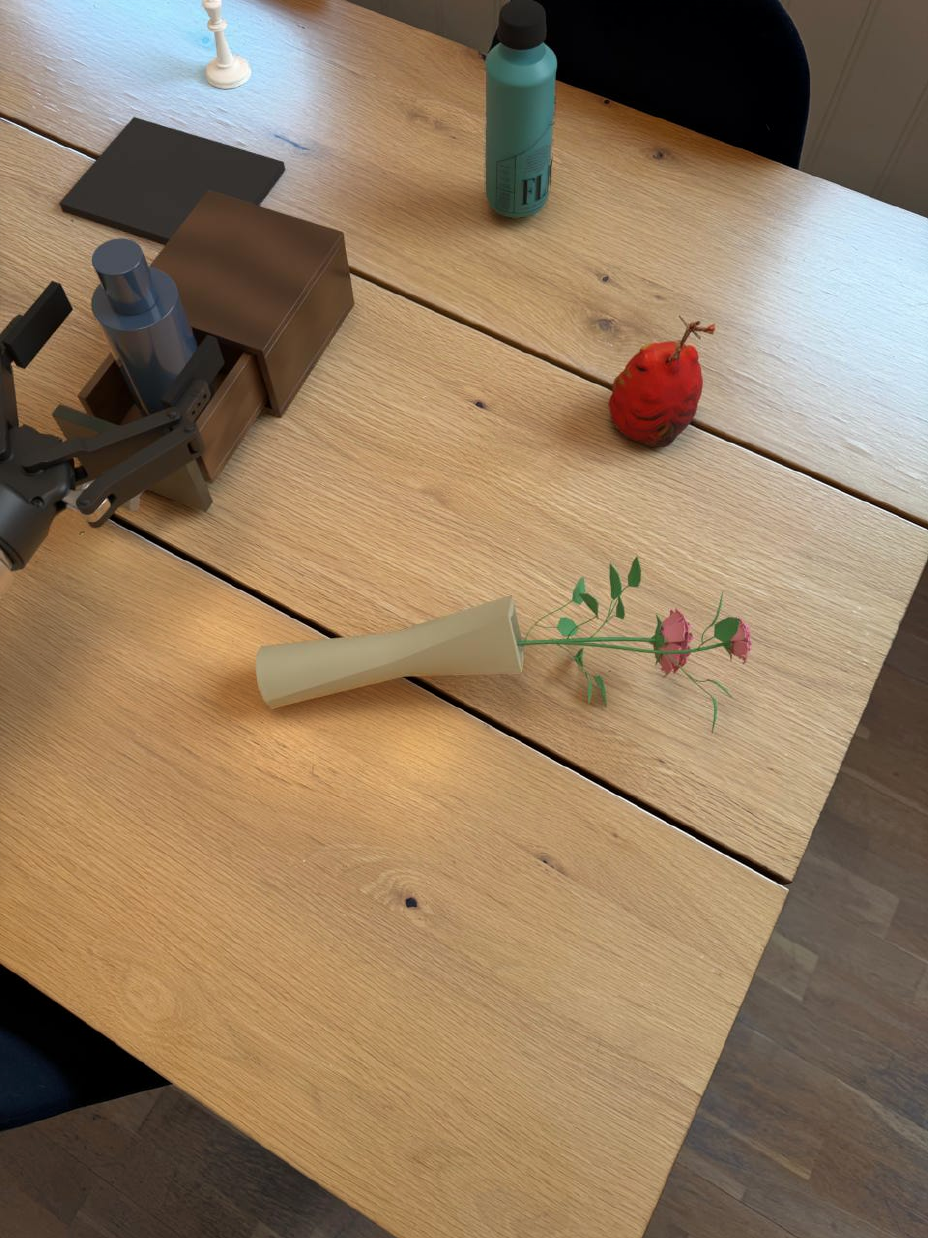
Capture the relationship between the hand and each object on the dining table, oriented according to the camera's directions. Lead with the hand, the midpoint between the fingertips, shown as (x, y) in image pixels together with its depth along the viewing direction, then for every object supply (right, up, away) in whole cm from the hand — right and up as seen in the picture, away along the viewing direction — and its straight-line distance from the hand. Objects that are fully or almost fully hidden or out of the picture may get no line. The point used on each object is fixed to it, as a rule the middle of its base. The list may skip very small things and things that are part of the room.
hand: (138, 321), depth 77 cm
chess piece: (-1, +37, +35) cm, 51 cm away
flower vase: (+27, -27, +2) cm, 38 cm away
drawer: (-1, -8, +11) cm, 13 cm away
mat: (-5, +21, +27) cm, 34 cm away
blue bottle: (0, -5, +11) cm, 12 cm away
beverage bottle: (+30, +18, +25) cm, 43 cm away
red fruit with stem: (+41, -5, +13) cm, 43 cm away
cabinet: (+5, +4, +18) cm, 19 cm away
